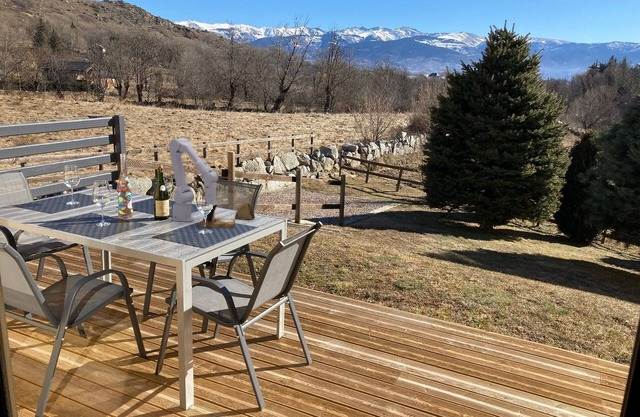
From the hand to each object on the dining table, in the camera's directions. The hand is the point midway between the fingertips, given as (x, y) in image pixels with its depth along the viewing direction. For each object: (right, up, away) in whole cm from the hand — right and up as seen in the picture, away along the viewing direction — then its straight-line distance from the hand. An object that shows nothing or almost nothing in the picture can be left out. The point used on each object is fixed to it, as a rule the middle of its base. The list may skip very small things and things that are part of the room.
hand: (210, 219), depth 250 cm
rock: (+15, 0, +17) cm, 23 cm away
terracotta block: (0, -3, +1) cm, 3 cm away
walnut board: (+4, -3, +1) cm, 5 cm away
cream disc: (+8, -1, +1) cm, 9 cm away
